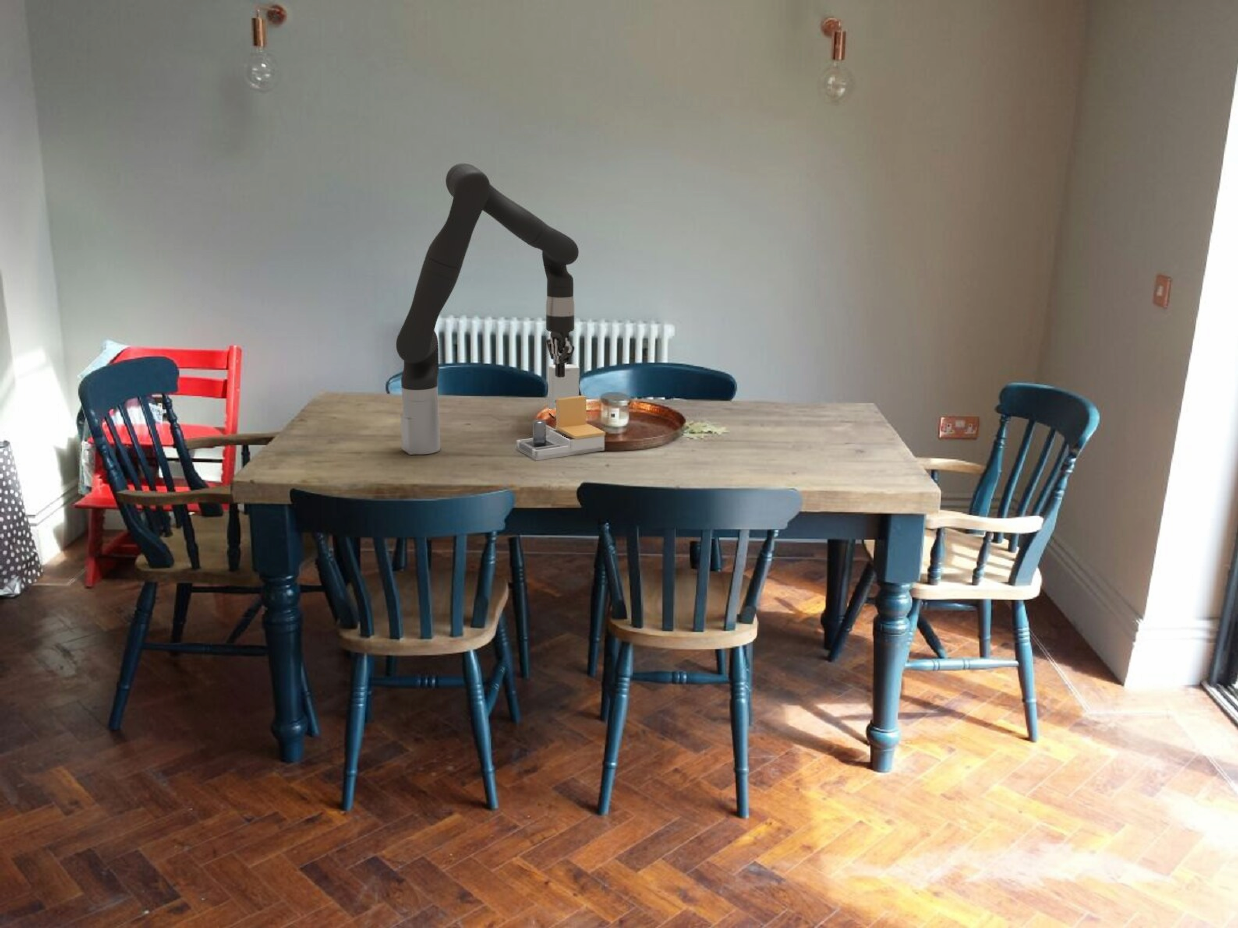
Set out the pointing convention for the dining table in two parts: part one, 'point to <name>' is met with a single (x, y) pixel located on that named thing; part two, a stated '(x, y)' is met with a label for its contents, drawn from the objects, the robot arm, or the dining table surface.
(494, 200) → the robot arm
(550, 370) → the skincare box
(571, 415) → the orange l-shaped block
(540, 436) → the pin
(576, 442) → the box
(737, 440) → the dining table surface
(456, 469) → the dining table surface
